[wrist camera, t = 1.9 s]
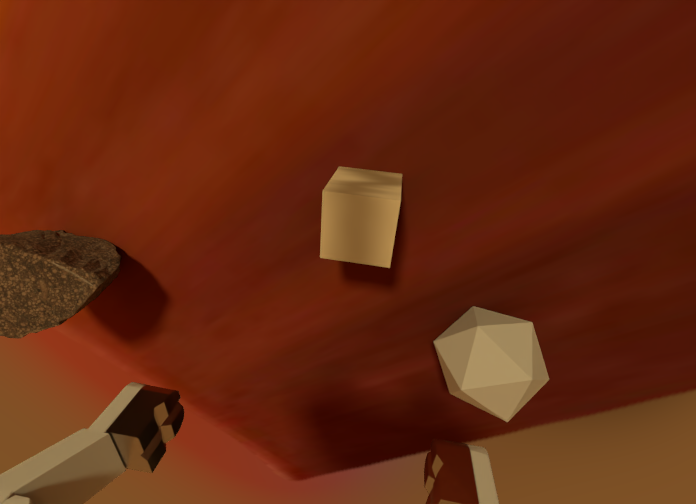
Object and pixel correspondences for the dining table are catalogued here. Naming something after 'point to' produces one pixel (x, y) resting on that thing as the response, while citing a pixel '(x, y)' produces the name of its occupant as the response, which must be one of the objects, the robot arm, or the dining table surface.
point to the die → (492, 361)
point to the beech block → (360, 216)
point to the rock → (50, 278)
